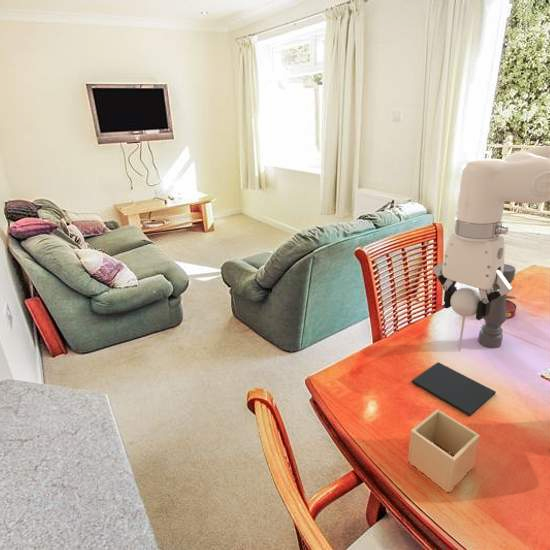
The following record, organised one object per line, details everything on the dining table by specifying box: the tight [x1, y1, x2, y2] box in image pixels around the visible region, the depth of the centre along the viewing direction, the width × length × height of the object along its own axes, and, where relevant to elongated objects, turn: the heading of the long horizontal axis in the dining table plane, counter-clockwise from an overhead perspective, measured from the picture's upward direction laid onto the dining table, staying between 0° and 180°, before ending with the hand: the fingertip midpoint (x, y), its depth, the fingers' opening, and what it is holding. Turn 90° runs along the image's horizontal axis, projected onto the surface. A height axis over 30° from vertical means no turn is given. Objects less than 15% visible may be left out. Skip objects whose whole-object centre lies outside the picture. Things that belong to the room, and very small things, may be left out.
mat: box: [411, 361, 497, 417], centre depth 98 cm, size 16×12×1 cm
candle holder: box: [477, 263, 516, 349], centre depth 110 cm, size 6×6×25 cm
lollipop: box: [450, 287, 481, 352], centre depth 78 cm, size 6×6×15 cm
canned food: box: [505, 294, 518, 320], centre depth 129 cm, size 11×10×10 cm
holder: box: [407, 408, 481, 493], centre depth 76 cm, size 9×9×9 cm
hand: (464, 310), depth 77 cm, fingers closed on lollipop, 6 cm apart
